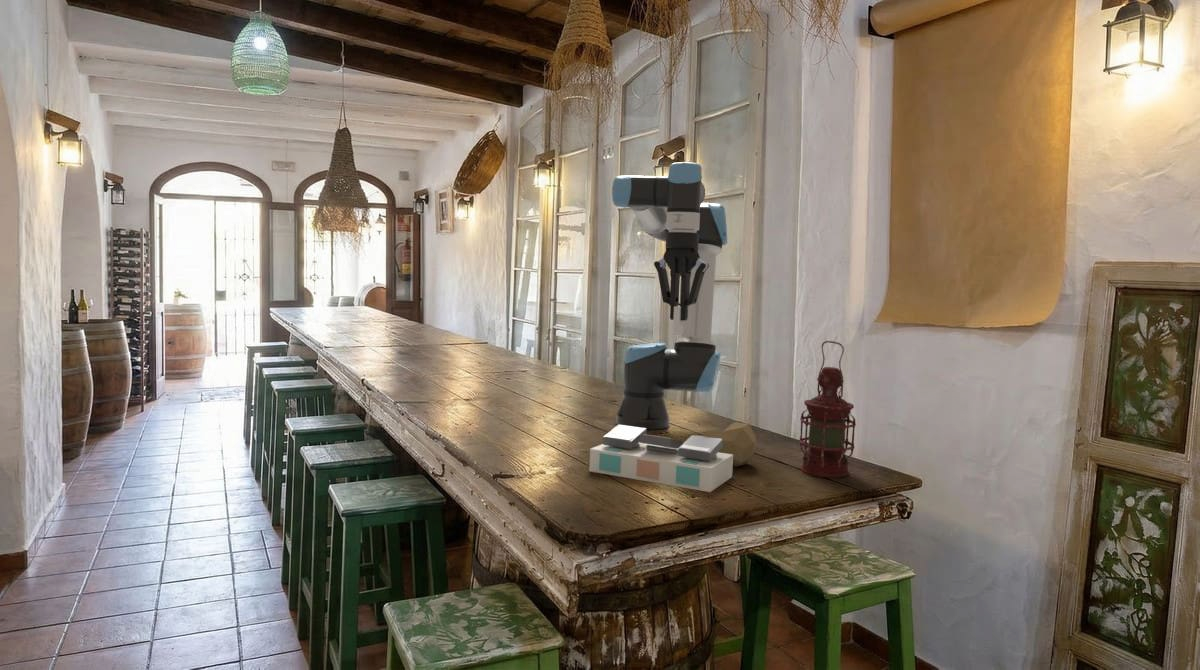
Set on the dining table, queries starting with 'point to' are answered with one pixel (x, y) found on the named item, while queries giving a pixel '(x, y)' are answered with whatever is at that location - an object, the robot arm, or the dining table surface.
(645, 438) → the rocker middle
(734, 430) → the low-poly potato
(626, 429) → the rocker
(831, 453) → the lantern
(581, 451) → the dining table surface
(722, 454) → the console
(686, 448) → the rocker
